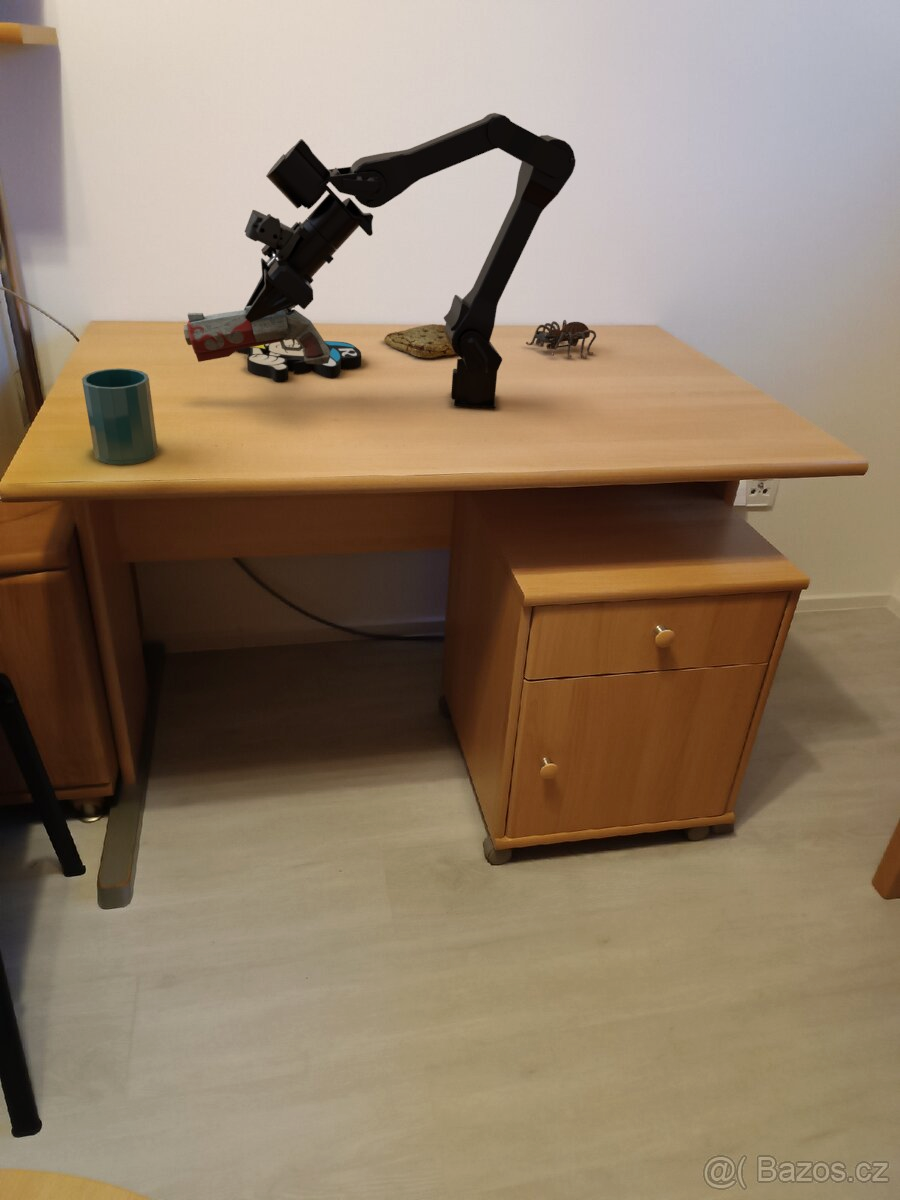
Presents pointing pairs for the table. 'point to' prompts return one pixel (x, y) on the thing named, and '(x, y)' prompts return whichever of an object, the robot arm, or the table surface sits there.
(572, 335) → the toy
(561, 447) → the table surface
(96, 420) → the pen holder
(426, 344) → the pastry
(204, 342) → the toy gun
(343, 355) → the toy
